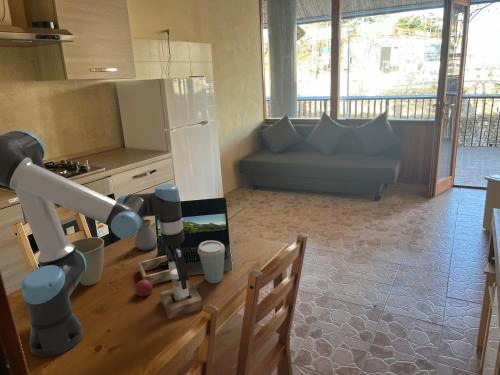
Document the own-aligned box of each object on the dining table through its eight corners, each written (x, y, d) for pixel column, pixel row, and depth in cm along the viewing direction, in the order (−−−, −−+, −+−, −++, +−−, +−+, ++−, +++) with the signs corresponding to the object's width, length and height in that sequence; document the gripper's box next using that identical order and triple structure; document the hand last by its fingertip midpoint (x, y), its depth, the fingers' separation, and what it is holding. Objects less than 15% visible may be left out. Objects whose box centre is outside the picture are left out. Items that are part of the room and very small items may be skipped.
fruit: (139, 303, 143) (142, 291, 138) (132, 291, 145) (134, 278, 140) (154, 296, 146) (157, 284, 141) (147, 284, 149) (150, 272, 144)
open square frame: (145, 286, 150) (144, 277, 149) (139, 270, 162) (138, 262, 161) (181, 276, 155) (179, 267, 154) (172, 262, 167) (171, 254, 166)
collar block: (169, 319, 129) (167, 310, 128) (161, 301, 140) (159, 292, 139) (203, 308, 134) (202, 299, 133) (192, 291, 144) (192, 283, 143)
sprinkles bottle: (190, 305, 136) (186, 271, 132) (178, 310, 134) (173, 275, 130) (184, 299, 140) (180, 266, 136) (173, 304, 137) (168, 270, 133)
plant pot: (62, 289, 151) (54, 252, 146) (86, 270, 165) (79, 236, 160) (96, 292, 148) (88, 255, 143) (117, 272, 161) (111, 238, 157)
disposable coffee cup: (229, 272, 156) (226, 238, 152) (225, 287, 146) (222, 251, 141) (204, 272, 157) (200, 239, 153) (198, 287, 147) (194, 251, 143)
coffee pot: (151, 239, 192) (147, 211, 187) (164, 245, 184) (160, 216, 180) (111, 255, 177) (105, 225, 173) (124, 263, 169) (118, 231, 165)
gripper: (194, 241, 119) (200, 301, 125) (173, 216, 141) (180, 268, 147) (170, 247, 116) (178, 308, 122) (153, 220, 138) (160, 273, 144)
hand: (179, 286), depth 135 cm, fingers open, 13 cm apart
